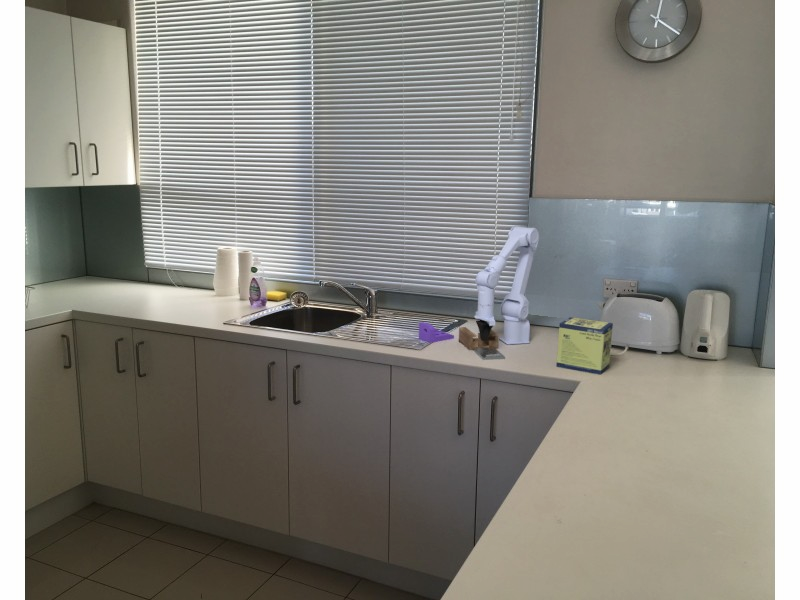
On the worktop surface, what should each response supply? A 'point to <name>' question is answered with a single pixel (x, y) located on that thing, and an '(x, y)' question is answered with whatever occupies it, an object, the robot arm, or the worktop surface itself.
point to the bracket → (432, 333)
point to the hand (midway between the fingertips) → (484, 340)
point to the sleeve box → (477, 339)
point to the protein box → (584, 345)
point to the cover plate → (488, 353)
